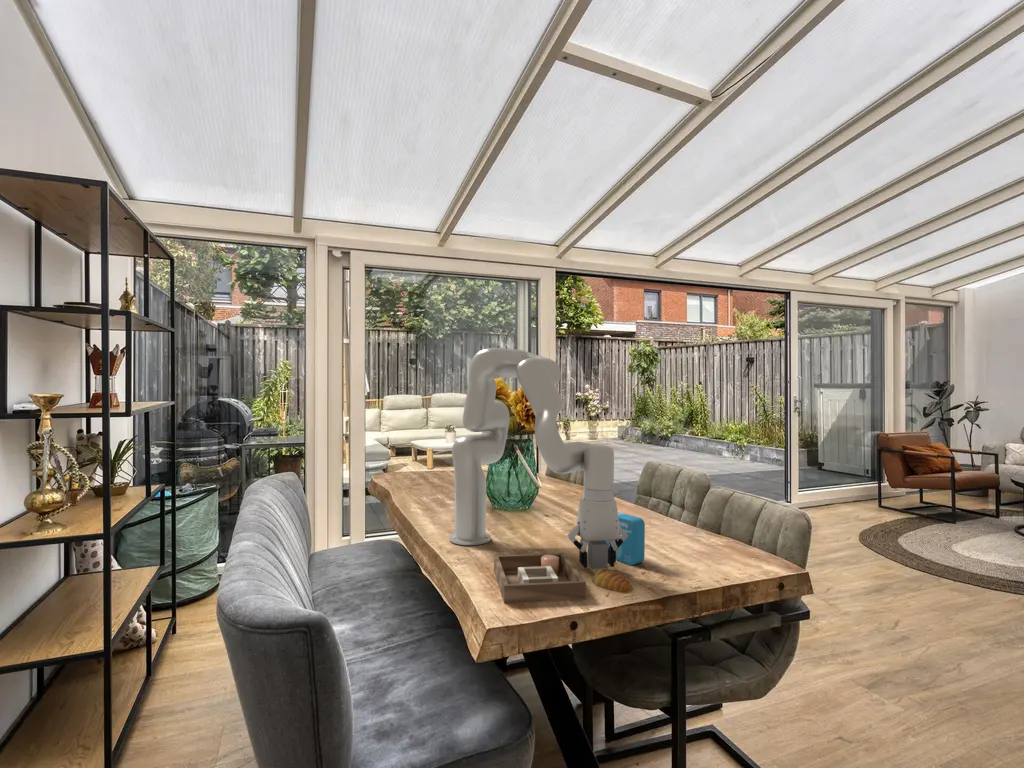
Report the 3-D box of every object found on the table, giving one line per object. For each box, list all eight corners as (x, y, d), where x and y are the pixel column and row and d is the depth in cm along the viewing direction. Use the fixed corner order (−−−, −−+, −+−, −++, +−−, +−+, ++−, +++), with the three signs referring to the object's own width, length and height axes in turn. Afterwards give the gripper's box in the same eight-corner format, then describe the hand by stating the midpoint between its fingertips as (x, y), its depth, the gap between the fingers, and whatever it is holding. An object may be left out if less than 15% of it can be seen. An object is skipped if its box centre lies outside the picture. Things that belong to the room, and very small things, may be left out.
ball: (539, 571, 135) (539, 555, 135) (556, 570, 136) (556, 554, 136) (542, 577, 131) (543, 561, 131) (560, 576, 131) (560, 560, 131)
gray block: (587, 571, 138) (587, 539, 138) (602, 570, 138) (602, 539, 138) (592, 576, 134) (592, 544, 134) (607, 576, 134) (607, 544, 134)
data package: (599, 555, 151) (600, 512, 151) (610, 551, 154) (610, 509, 153) (633, 567, 141) (634, 521, 141) (644, 563, 144) (645, 518, 144)
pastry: (639, 592, 125) (639, 576, 125) (620, 600, 121) (620, 583, 121) (607, 580, 132) (608, 565, 132) (589, 587, 128) (589, 571, 128)
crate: (493, 573, 135) (493, 555, 135) (563, 570, 138) (563, 553, 138) (504, 606, 116) (504, 586, 116) (585, 602, 118) (585, 582, 118)
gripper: (626, 491, 141) (625, 559, 141) (561, 492, 138) (560, 562, 139) (636, 497, 133) (635, 569, 134) (568, 498, 131) (567, 572, 131)
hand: (597, 565), depth 136 cm, fingers open, 6 cm apart
